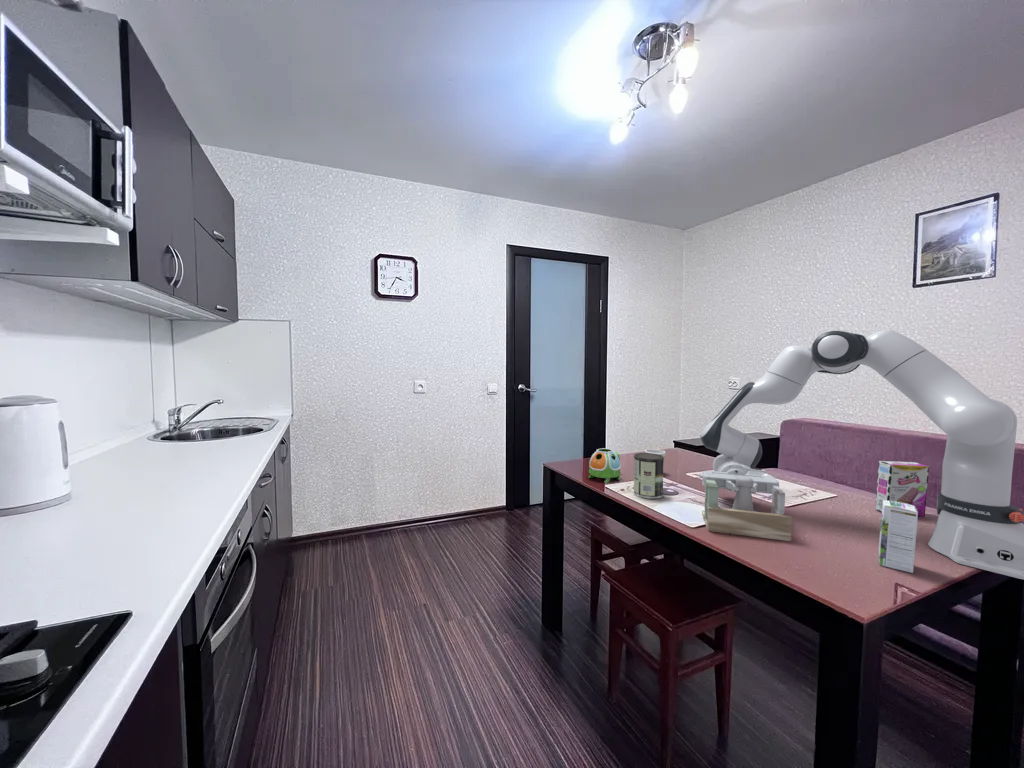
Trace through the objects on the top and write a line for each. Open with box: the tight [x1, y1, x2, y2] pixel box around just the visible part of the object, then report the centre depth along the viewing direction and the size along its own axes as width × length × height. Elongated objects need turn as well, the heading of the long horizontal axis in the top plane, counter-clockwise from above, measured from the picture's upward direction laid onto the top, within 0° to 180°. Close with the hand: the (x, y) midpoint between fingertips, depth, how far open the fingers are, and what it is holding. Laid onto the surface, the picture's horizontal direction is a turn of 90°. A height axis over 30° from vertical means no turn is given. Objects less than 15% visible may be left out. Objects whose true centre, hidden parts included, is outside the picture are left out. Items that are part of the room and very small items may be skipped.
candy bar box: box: [874, 460, 930, 518], centre depth 124 cm, size 11×5×16 cm, turn 84°
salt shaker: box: [731, 476, 755, 512], centre depth 113 cm, size 6×6×13 cm
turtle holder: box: [588, 447, 622, 484], centre depth 162 cm, size 12×18×12 cm
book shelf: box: [701, 480, 793, 542], centre depth 113 cm, size 12×20×12 cm, turn 72°
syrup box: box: [878, 500, 919, 574], centre depth 92 cm, size 6×6×14 cm
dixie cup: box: [644, 448, 666, 458], centre depth 168 cm, size 8×8×10 cm
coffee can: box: [633, 452, 665, 500], centre depth 141 cm, size 10×10×14 cm
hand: (744, 489), depth 112 cm, fingers closed on salt shaker, 3 cm apart
